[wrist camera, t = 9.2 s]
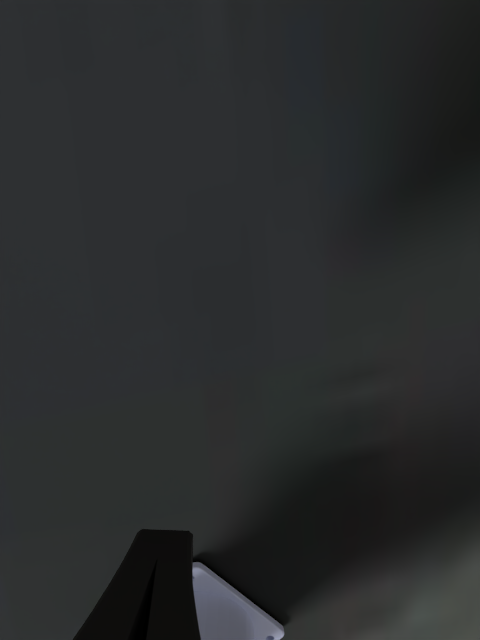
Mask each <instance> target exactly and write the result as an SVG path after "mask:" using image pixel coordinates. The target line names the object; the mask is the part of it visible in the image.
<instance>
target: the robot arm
mask: <svg viewBox="0 0 480 640" xmlns="http://www.w3.org/2000/svg"><path fill="white" fill-rule="evenodd" d="M283 636H284V628H283V626H282V625H281V624H280V623H278V622H277V621H276V620H275V619H273V618H272V617H271V616H269V615H268V614H267V613H265V612H264V611H263V610H262V609H260V608H259V607H258V606H256V605H255V604H254V603H253V602H251V601H250V600H249V599H247V598H246V597H245V596H244V595H242V594H241V593H240V592H238V591H237V590H236V589H234V588H233V587H232V586H231V585H229V584H228V583H227V582H225V581H224V580H223V579H222V578H220V577H219V576H218V575H216V574H215V573H214V572H212V571H211V570H210V569H209V568H207V567H206V566H205V565H203V564H202V563H200V562H193V534H192V533H190V532H189V531H176V530H148V529H142V530H140V531H139V532H138V533H137V535H136V537H135V539H134V541H133V543H132V545H131V547H130V549H129V551H128V552H127V554H126V556H125V558H124V560H123V562H122V563H121V565H120V567H119V569H118V570H117V572H116V574H115V575H114V577H113V579H112V580H111V582H110V584H109V585H108V587H107V589H106V590H105V592H104V593H103V595H102V596H101V598H100V600H99V601H98V603H97V604H96V606H95V608H94V609H93V611H92V612H91V614H90V615H89V617H88V618H87V620H86V621H85V623H84V624H83V626H82V627H81V628H80V630H79V631H78V633H77V634H76V636H75V637H74V638H73V640H279V639H281V638H282V637H283Z"/></svg>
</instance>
